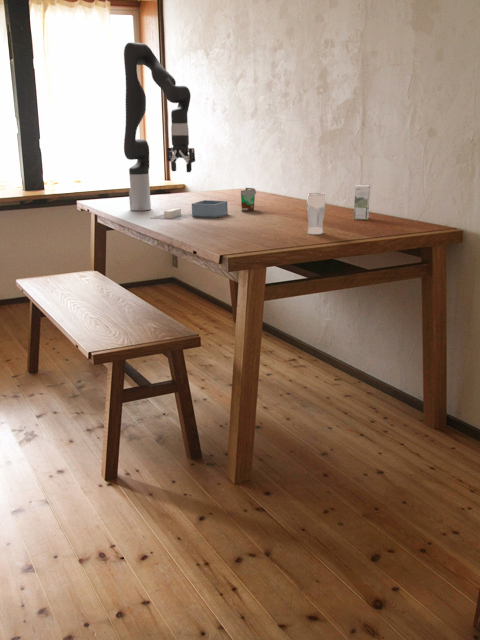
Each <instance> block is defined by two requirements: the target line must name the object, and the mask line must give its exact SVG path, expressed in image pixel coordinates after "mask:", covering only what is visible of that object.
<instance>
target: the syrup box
mask: <svg viewBox="0 0 480 640" xmlns="http://www.w3.org/2000/svg"><path fill="white" fill-rule="evenodd" d="M370 193H371V185H370V184H363V183H362V184H361V183H360V184H359V183H358V184H355V185H354V202H353V203H354V205H353V207H354V209H353V220H357V221H358V220H359V221H367V220H368V219H370V215H369V214H370V197H371V194H370Z"/></svg>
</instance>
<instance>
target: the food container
mask: <svg viewBox="0 0 480 640" xmlns="http://www.w3.org/2000/svg"><path fill="white" fill-rule="evenodd" d="M256 194H257V191H256V189H255V188H254V187H245V189H243V190H240V199H241V201H240V202H241V203H240V204H241V212H242V213H247V212H248V213H249V212H254V211H255V198H256V197H255V196H256Z"/></svg>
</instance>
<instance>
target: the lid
mask: <svg viewBox="0 0 480 640" xmlns="http://www.w3.org/2000/svg"><path fill="white" fill-rule="evenodd" d="M190 216H191V217H192V214H186V213H185V214H184V213H182V208H178V207H177V208H171V209H167V210H163V214H160V215H156V216H153V217H150V218H149V219H153V220H154V219H155V220H169V221H181V220H183V219H187V218H191V217H190Z"/></svg>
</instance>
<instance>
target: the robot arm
mask: <svg viewBox="0 0 480 640" xmlns="http://www.w3.org/2000/svg"><path fill="white" fill-rule="evenodd" d="M123 61H124V72H125V128H124V129H125V131H124V141H123V153H124V156H125V158H126V159H127V160H131V161H132V160H137V161H136V163H135V164H134V165H132V166H131V167H129V169H128V171H129V172H128V173H129V185H130V186H129V188H130V189H128V198H129V209H130V211H138V212H139V211H140V212H141V211H149V210H151V209H152V207H151V206H152V203H151V189H150V188H151V187H150V176H149V175H150V172H149V170H150V148H149V147H150V146H149V143H148V141H147V140H146V139H145V138H144V139H143V138H136V136H137V130H138V127H139V125H140V123H141V121H142V120H143V118H144V117H145V113H146V111H147V110H146V109H147V108H146V106H147V103H146V102H147V101H146V100H147V98H146V97H147V96H146V93H145V90H144V88H143V87H142V84H141V82H140V80H139V77H138V76H139V75H138V67H137V66H143V65H144V66H145V67H146V68H148V69H149V70H150V71H151V77H152V80H153V82H155V84H156V85H157V86H158V87H159V88H160V89H161V90H162V92H163V94H164V97H165V99H166V100H168V102H170V103H172V104H177V107H176V108H175V109H172V110H171V111H170V112H171V114H170V116H171V117H170V118H171V126H170V127H171V128H170V131H171V145H172V146H169V147H168V146H167V148H166V155H167V156H166V161H167V162H170V169H171V171H172V172H177V163H176V162H177V160H178V159H179V158H180V159H183V160H184V161H185V164H186V165H185V166H186V173H191V172H192V164H193V163H195V162H196V153H195V148H194V147H190V148H189V145H190V137H189V135H190V134H189V132H190V131H189V124H188V123H189V122H188V112H189V107H190V102H191V91H190V88H189V87H187V86H185V85H177V82H176V80H175V78H174V76H172V75H171V74H170V73H169V72H168V71H167V69H165V68H164V66H163V65H162V63H161V62H160V61H159V58H157V56H155V54H154V52H153V51H152V49H151V47H149V46H148V44H146V43H143V42H127V43H126V44H125V47H124V49H123Z"/></svg>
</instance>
